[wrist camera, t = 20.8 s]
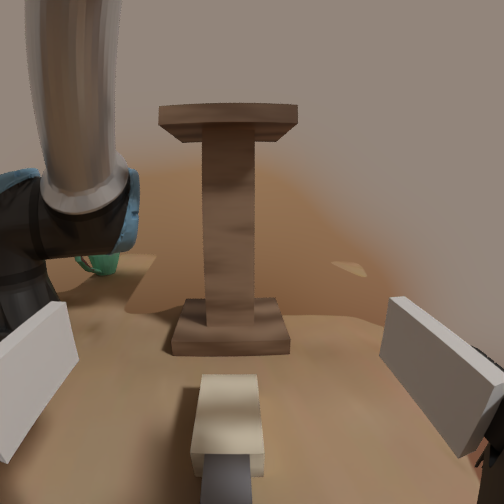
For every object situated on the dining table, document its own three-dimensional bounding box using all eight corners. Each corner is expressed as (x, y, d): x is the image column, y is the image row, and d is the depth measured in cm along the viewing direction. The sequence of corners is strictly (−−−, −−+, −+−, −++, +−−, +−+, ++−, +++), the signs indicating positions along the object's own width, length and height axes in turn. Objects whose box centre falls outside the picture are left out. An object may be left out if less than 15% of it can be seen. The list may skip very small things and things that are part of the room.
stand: (187, 307, 50) (182, 129, 44) (273, 306, 51) (276, 129, 45) (171, 360, 35) (159, 106, 28) (291, 358, 35) (297, 104, 29)
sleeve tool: (204, 398, 28) (202, 374, 27) (256, 398, 28) (256, 374, 28) (181, 615, 7) (170, 608, 6) (277, 617, 7) (281, 611, 6)
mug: (102, 265, 74) (99, 227, 72) (133, 268, 72) (129, 227, 70) (65, 282, 60) (59, 237, 58) (96, 287, 58) (91, 238, 56)
